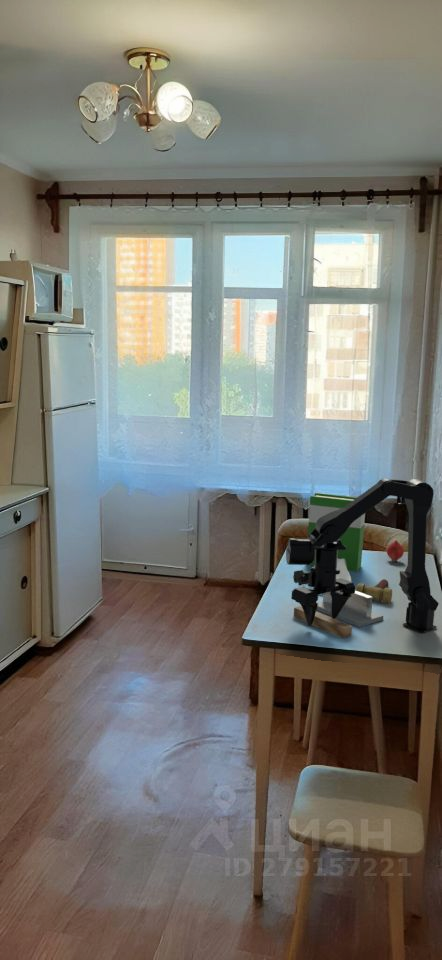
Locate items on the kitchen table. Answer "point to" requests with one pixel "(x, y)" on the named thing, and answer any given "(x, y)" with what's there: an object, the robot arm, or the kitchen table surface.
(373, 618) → the board
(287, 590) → the kitchen table surface
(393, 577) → the kitchen table surface
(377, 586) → the gavel
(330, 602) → the steel ridge
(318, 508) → the hardback book
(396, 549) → the onion
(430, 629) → the robot arm
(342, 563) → the spoon rest
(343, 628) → the walnut batten
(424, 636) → the kitchen table surface
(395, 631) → the kitchen table surface
